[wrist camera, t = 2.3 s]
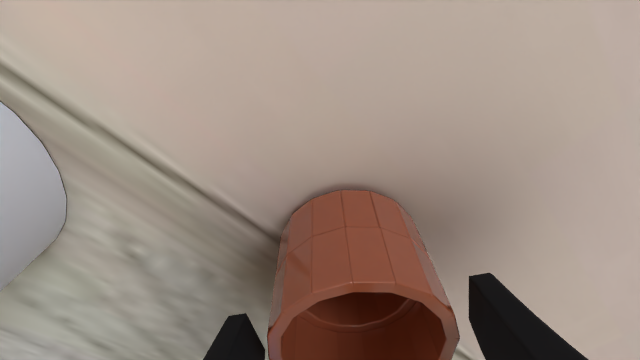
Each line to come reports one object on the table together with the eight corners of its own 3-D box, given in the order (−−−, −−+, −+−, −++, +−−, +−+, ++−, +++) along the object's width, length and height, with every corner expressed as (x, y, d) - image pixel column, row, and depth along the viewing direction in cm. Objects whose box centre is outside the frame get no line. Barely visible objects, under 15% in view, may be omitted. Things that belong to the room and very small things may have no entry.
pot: (438, 240, 14) (494, 350, 10) (341, 301, 16) (351, 416, 11) (356, 155, 12) (380, 247, 8) (255, 236, 14) (227, 348, 9)
